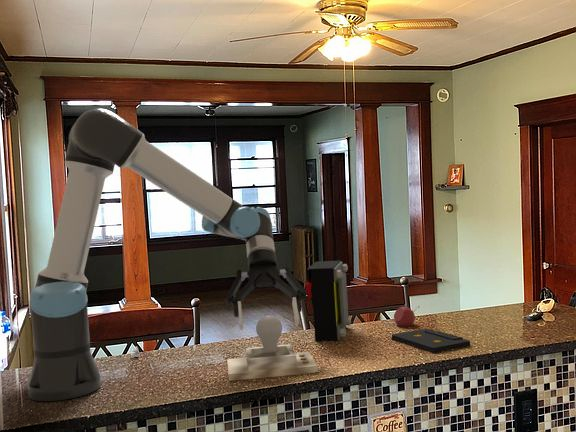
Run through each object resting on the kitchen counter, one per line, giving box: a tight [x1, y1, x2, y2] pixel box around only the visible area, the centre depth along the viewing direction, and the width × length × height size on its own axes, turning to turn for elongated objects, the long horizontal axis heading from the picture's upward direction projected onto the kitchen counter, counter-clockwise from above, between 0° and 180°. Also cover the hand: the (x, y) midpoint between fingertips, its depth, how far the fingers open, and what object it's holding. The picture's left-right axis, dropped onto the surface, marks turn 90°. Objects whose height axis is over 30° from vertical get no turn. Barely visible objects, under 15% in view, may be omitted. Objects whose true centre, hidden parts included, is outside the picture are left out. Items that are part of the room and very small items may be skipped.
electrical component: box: [304, 260, 352, 342], centre depth 173 cm, size 18×10×20 cm, turn 168°
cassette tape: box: [391, 328, 471, 354], centre depth 157 cm, size 18×12×2 cm, turn 25°
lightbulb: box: [255, 314, 283, 357], centre depth 141 cm, size 6×6×11 cm
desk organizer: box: [226, 344, 319, 382], centre depth 141 cm, size 20×13×4 cm, turn 97°
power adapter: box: [130, 346, 140, 359], centre depth 160 cm, size 3×3×3 cm
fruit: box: [393, 306, 420, 328], centre depth 179 cm, size 6×6×8 cm
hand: (269, 324), depth 146 cm, fingers open, 13 cm apart
